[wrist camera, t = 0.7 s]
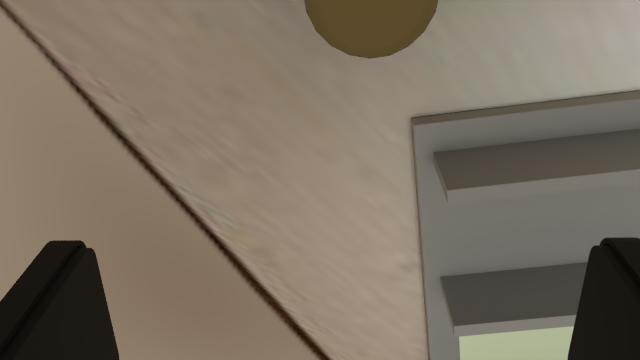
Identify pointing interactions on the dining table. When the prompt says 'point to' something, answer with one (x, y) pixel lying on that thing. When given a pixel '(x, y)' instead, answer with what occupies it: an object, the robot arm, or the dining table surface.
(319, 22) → the brown gourd-shaped form
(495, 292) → the rack
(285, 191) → the dining table surface
